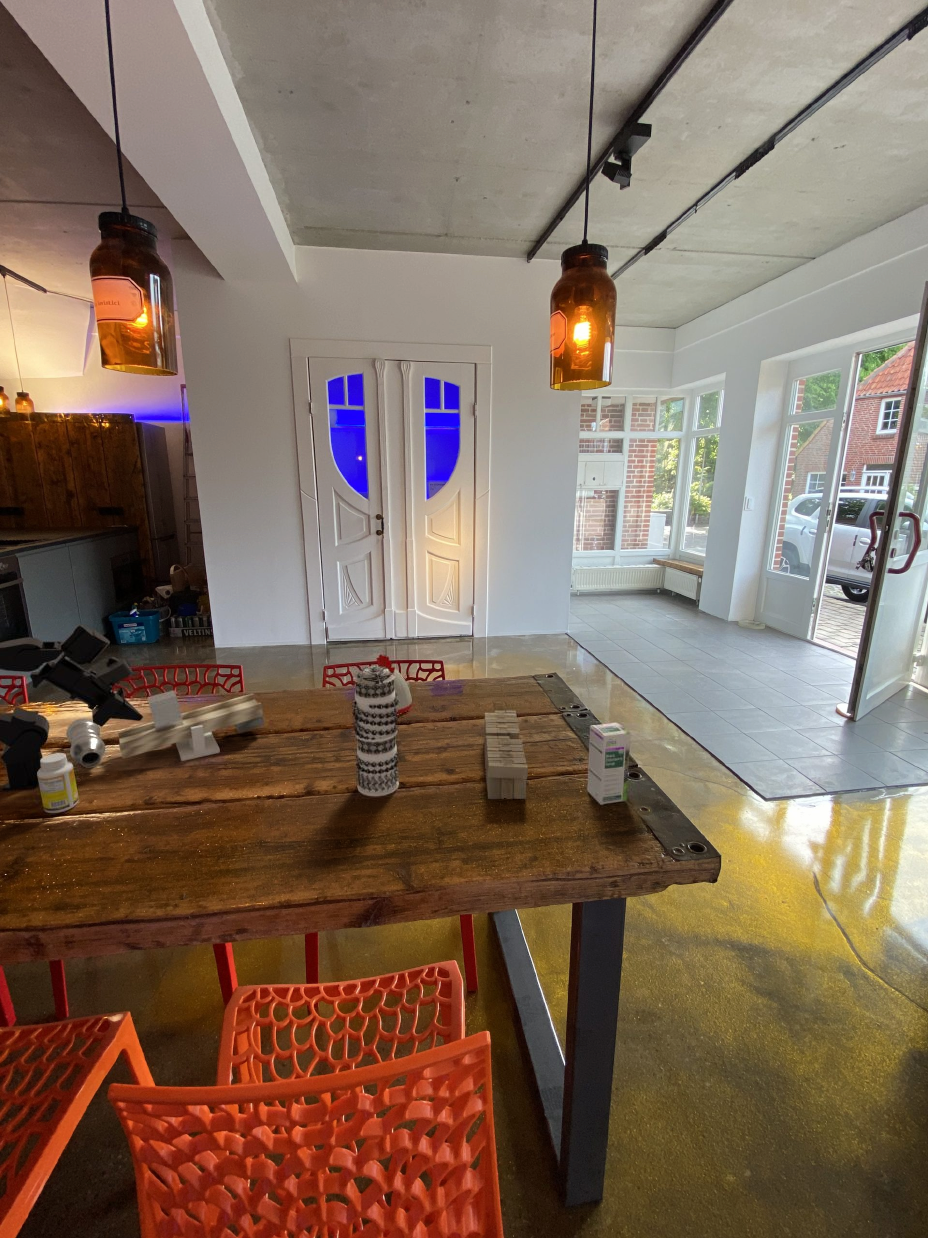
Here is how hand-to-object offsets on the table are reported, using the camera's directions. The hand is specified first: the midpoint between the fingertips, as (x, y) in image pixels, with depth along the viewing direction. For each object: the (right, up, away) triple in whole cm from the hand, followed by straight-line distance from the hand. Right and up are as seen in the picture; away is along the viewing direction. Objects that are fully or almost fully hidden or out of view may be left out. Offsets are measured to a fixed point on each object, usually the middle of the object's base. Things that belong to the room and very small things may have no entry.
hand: (141, 718), depth 127 cm
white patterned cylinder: (+55, -12, -10) cm, 57 cm away
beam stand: (+9, -8, +8) cm, 14 cm away
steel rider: (+5, -3, +4) cm, 7 cm away
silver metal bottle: (-19, -4, +9) cm, 22 cm away
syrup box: (+101, -13, -14) cm, 102 cm away
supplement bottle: (-5, -14, -18) cm, 23 cm away
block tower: (+81, -11, -2) cm, 81 cm away
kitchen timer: (+51, -3, +32) cm, 60 cm away
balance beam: (+9, -7, +7) cm, 13 cm away
